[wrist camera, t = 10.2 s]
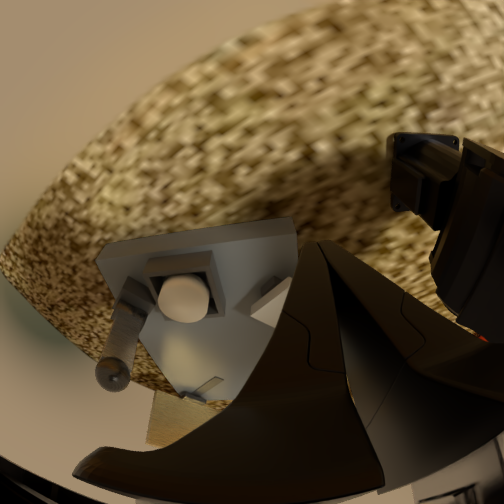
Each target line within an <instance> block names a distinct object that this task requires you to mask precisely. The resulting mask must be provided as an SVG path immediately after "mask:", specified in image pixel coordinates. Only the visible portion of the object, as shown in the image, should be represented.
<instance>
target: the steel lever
mask: <svg viewBox="0 0 504 504" xmlns="http://www.w3.org/2000/svg"><path fill="white" fill-rule="evenodd" d="M147 317H148V313H146V312H144V311H142V310H140V309H138V308H136V307H134V306H133V305H131V304H129V303H127V302H125V301H123V300H122V299H119V301H118V303H117V305H116V307H115V309H114V311H113V313H112V316H111V318H110V319H112V320H114V321H113V324H112V326H111V329H110V332H109V334H108V337H107V340H106V343H105V345H104V348H103V351H102V354H101V357H100V360H99V362H98V364H97V366H96V369H95V376H96V379H97V381H98V383H99V384H100V385H101V387H102V388H104V389H105V390H107V391H110V392H120V391H122V390H124V389H125V388H126V387H127V386H128V384H129V382H130V373H131V371H132V367H133V362H134V357H135V352H136V347H137V342H138V337H139V333H140V332H141V331H142V329H143V327H144V325H145V322H146V320H147Z"/></svg>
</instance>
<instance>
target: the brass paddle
mask: <svg viewBox="0 0 504 504" xmlns="http://www.w3.org/2000/svg"><path fill="white" fill-rule="evenodd" d="M206 401H207V399H204V398H201V397H198V396H195V395H192V394H189V393H185V394H183V395H182V396H180V397H176V396H173V395H170V394H168V393H165V392H162V391H160V390H156V391H155V393H154V398H153V403H152V409H151V414H150V420H149V425H148V431H147V437H146V443H145V444H147V445H151V446H154V447H158V448H164V447H166V446H168V445H170V444H172V443H174V442H175V441H177V440H179V439H180V438H182V437H183V436H185V435H187V434H188V433H190V432H191V431H193V430H194V429H196V428H197V427H199V426H200V425H202V424H203V423H205V422H206V421H208V420H209V419H211V418H212V417H214V416H215V415H217V414H218V413H219V412H221V411H219V410H216V409H212V408H209V407H206V406H203V405H204V404H206Z"/></svg>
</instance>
